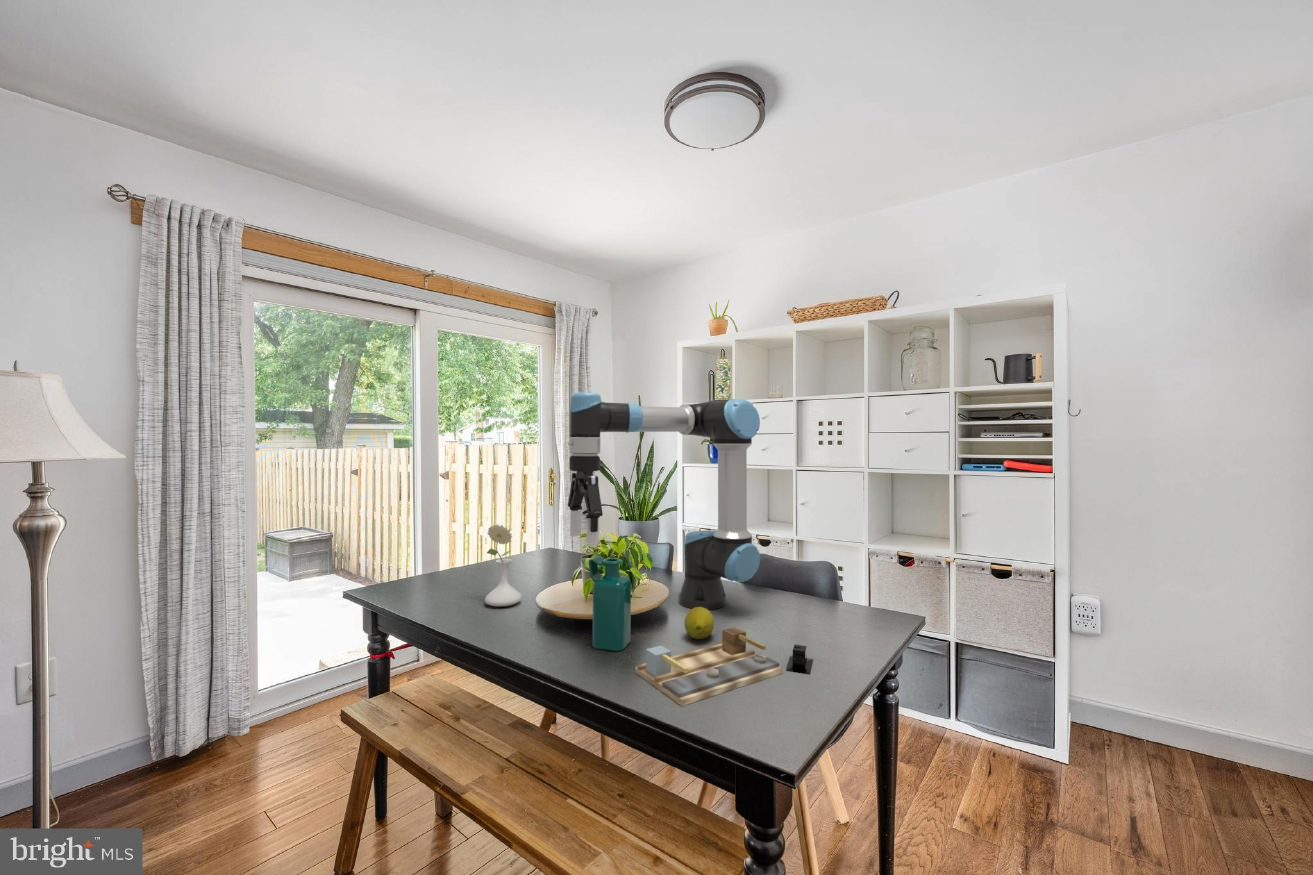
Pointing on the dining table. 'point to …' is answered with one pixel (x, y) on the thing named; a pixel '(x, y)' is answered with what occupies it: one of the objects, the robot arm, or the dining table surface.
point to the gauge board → (712, 690)
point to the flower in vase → (502, 571)
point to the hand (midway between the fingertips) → (583, 540)
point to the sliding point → (661, 661)
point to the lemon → (699, 623)
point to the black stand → (799, 661)
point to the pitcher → (610, 605)
